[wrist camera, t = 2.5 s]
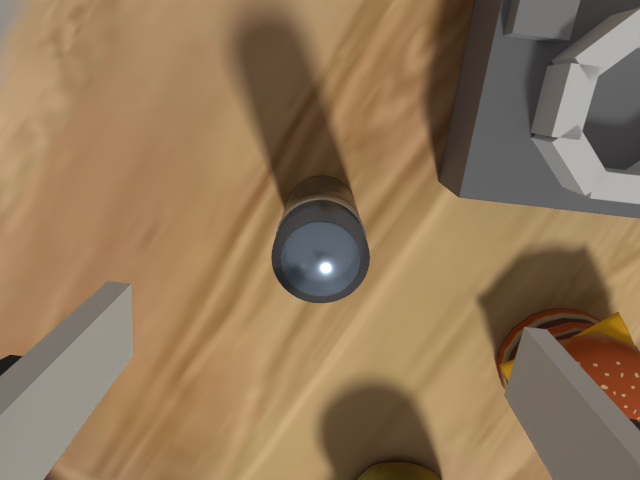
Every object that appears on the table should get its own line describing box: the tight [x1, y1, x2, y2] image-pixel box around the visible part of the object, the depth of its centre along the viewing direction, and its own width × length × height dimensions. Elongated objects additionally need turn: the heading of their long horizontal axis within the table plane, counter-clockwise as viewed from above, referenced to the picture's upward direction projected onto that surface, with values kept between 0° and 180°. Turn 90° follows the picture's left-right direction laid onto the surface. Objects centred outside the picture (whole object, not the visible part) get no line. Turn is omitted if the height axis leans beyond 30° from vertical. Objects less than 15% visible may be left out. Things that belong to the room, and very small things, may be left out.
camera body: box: [439, 0, 640, 218], centre depth 27 cm, size 16×12×8 cm
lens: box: [272, 175, 370, 303], centre depth 28 cm, size 5×5×10 cm
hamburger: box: [497, 309, 640, 422], centre depth 33 cm, size 9×10×7 cm
